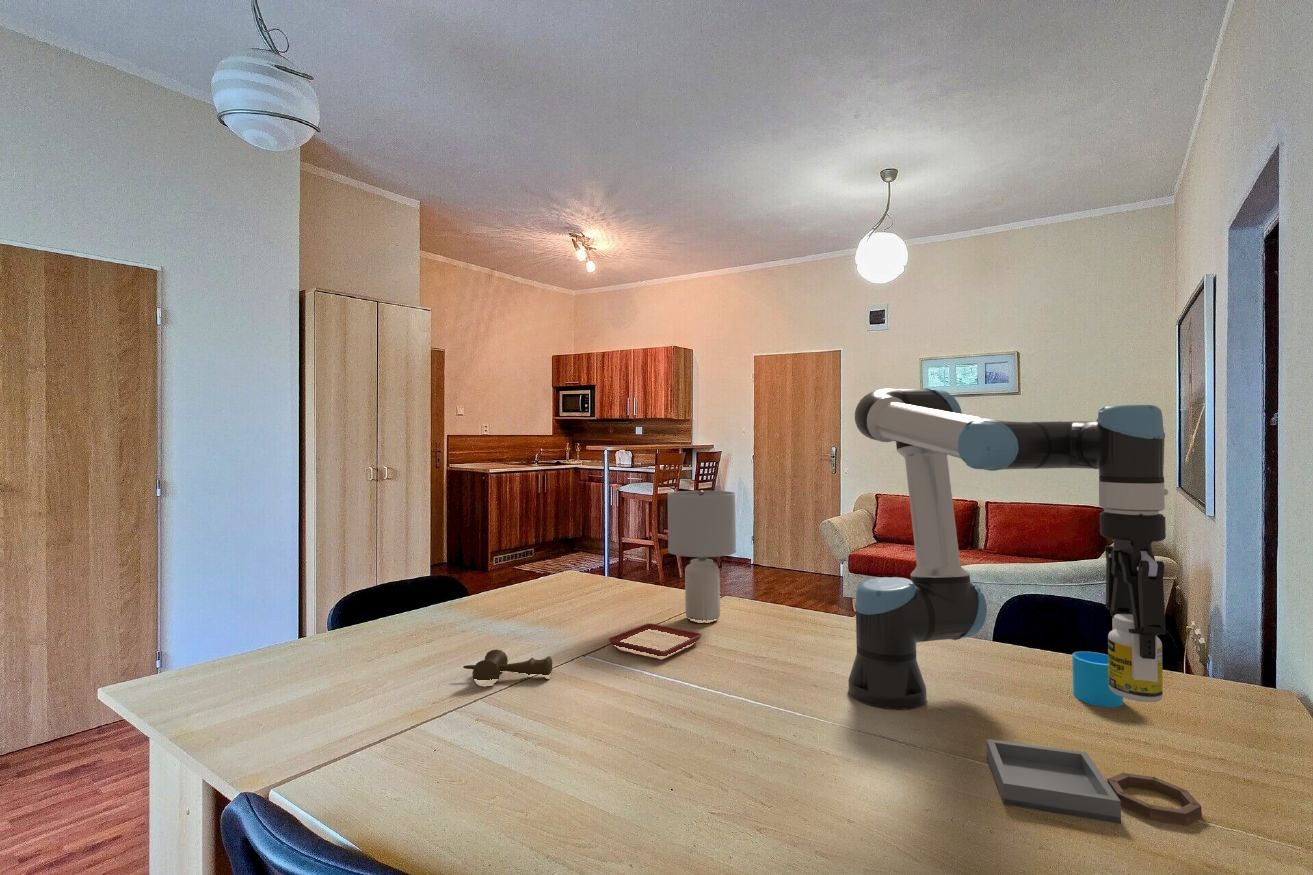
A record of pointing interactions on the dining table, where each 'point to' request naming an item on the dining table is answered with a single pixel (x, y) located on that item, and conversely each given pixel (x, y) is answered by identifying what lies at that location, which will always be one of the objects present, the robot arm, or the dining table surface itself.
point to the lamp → (702, 544)
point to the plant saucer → (679, 632)
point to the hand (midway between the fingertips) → (1134, 670)
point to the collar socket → (1154, 812)
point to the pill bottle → (1130, 664)
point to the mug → (1093, 680)
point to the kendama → (507, 666)
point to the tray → (1052, 780)
